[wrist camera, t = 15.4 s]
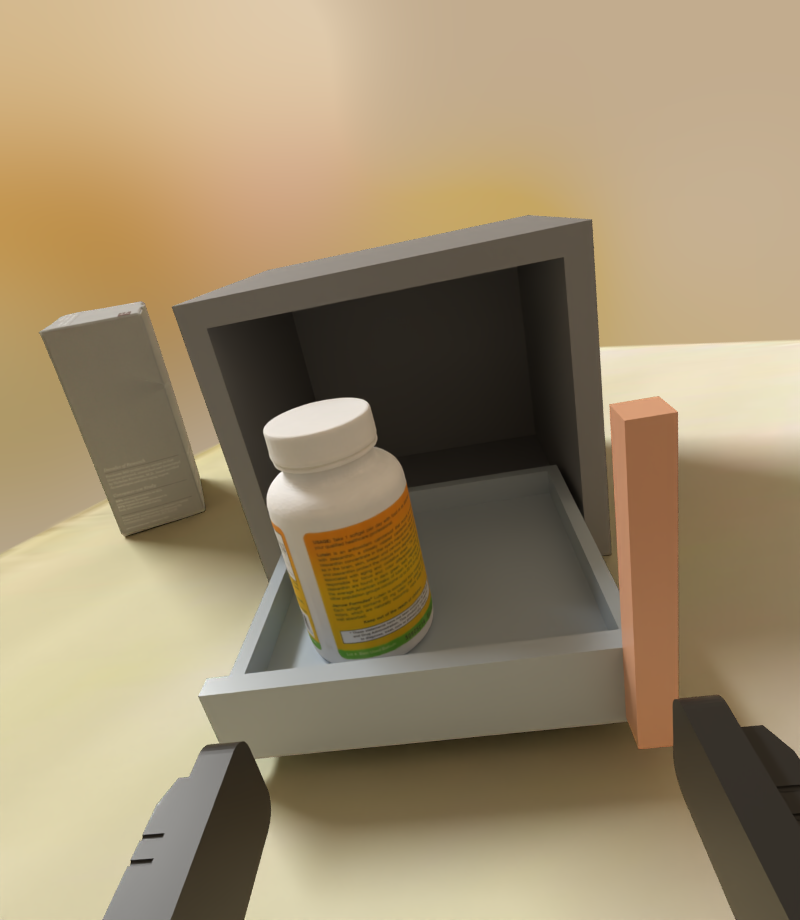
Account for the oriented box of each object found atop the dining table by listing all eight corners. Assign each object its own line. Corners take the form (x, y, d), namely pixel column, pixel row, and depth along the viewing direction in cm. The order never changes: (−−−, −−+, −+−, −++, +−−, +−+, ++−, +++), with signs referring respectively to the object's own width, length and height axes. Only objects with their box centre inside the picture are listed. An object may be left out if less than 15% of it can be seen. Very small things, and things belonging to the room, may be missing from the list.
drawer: (216, 792, 19) (79, 509, 15) (309, 537, 34) (254, 358, 30) (678, 750, 17) (677, 411, 13) (563, 499, 32) (544, 303, 28)
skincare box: (128, 500, 49) (48, 318, 43) (210, 474, 51) (145, 296, 45) (120, 542, 42) (21, 330, 35) (216, 510, 43) (139, 302, 37)
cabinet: (274, 600, 31) (171, 306, 25) (324, 474, 45) (267, 270, 39) (611, 554, 29) (592, 219, 22) (550, 437, 43) (527, 215, 37)
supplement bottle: (458, 600, 25) (417, 389, 21) (389, 690, 21) (323, 451, 17) (362, 576, 28) (311, 389, 24) (286, 650, 24) (212, 441, 20)
